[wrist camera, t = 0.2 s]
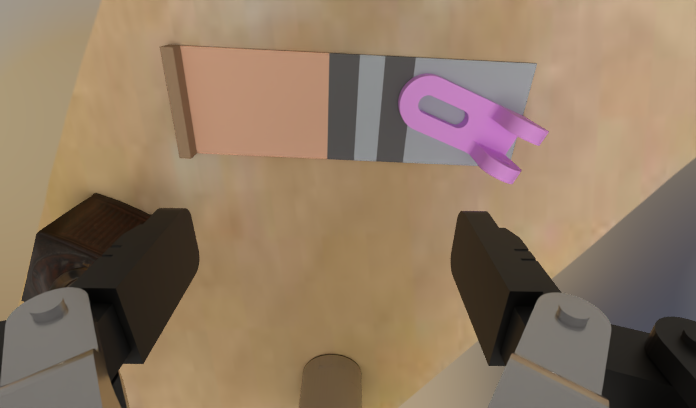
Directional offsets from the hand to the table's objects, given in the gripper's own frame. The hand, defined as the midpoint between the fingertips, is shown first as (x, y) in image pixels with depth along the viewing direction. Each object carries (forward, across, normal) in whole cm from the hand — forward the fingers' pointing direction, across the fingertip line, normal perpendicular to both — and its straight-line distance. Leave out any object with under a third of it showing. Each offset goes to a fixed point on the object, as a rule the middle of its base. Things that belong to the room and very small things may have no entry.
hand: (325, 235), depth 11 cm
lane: (+29, 0, -3) cm, 30 cm away
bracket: (+29, +12, -4) cm, 32 cm away
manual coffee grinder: (+30, -26, -18) cm, 43 cm away
